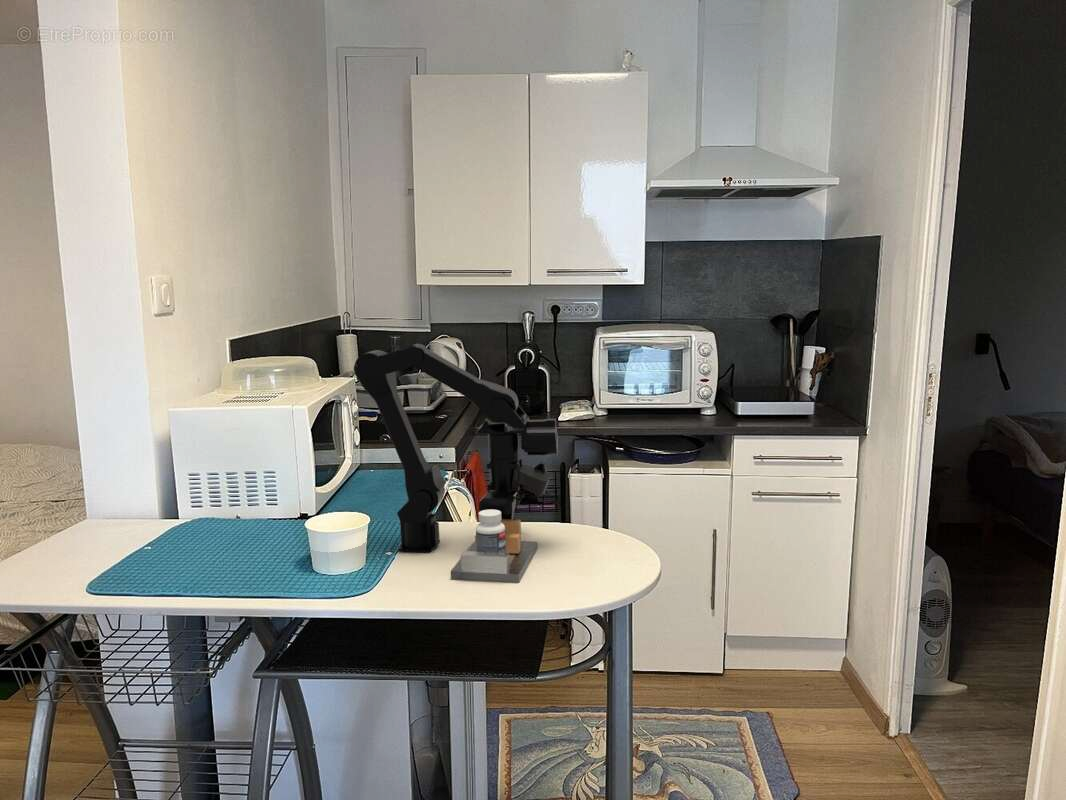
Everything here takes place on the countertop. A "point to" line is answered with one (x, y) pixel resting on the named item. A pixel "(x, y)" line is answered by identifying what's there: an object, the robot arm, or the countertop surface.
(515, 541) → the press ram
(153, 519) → the countertop surface
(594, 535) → the countertop surface
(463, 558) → the silver frame
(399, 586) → the countertop surface
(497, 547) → the pill bottle
